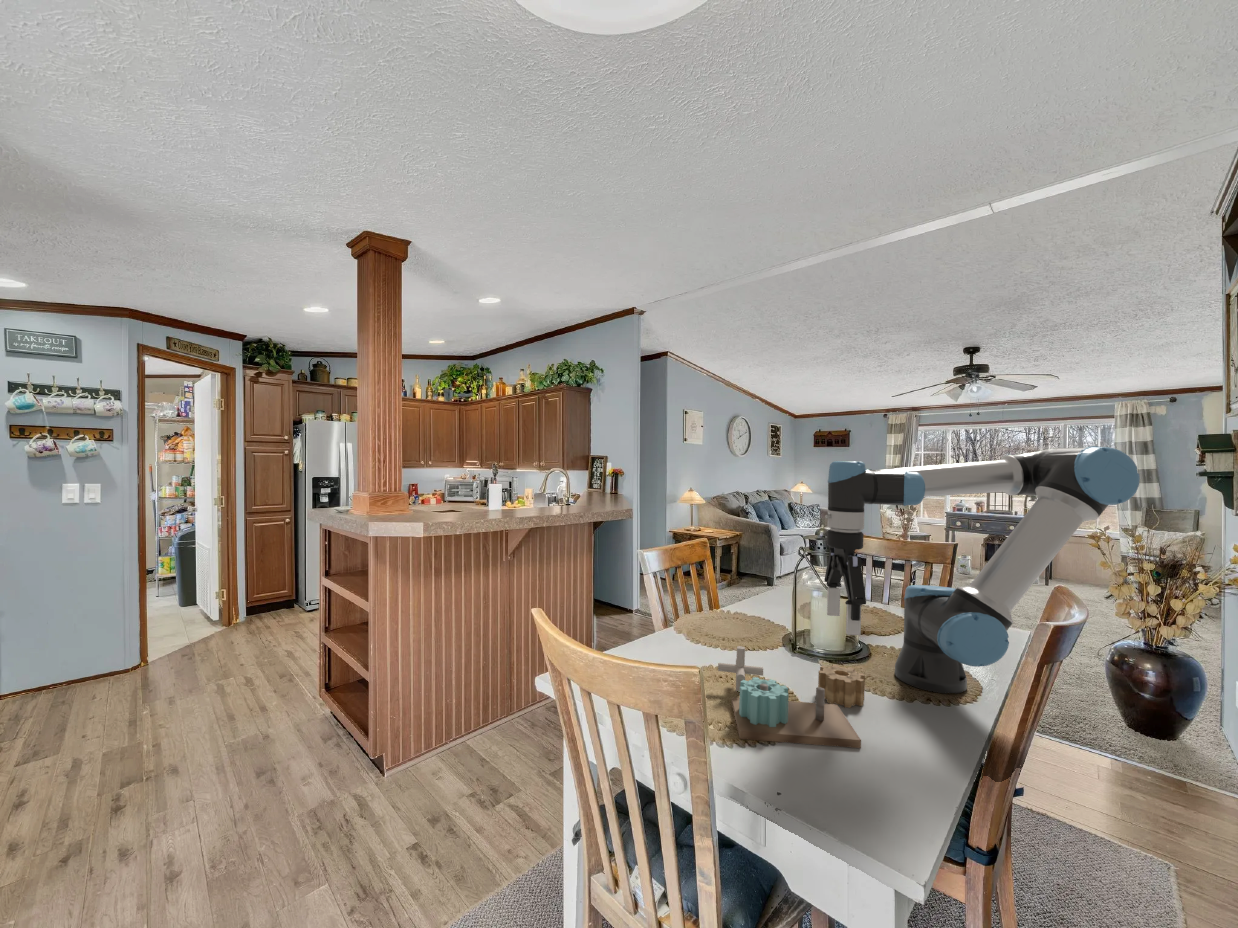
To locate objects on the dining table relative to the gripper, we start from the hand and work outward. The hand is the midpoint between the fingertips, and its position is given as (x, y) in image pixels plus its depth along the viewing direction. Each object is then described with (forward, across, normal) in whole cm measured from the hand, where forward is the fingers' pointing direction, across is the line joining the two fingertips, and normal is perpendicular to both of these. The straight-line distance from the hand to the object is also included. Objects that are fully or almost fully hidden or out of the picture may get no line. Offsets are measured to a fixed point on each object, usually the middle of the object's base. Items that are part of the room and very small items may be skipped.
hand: (842, 624), depth 116 cm
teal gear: (+15, +14, -20) cm, 28 cm away
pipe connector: (+17, 0, -22) cm, 28 cm away
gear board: (+16, +14, -14) cm, 26 cm away
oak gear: (+16, 0, 0) cm, 16 cm away
